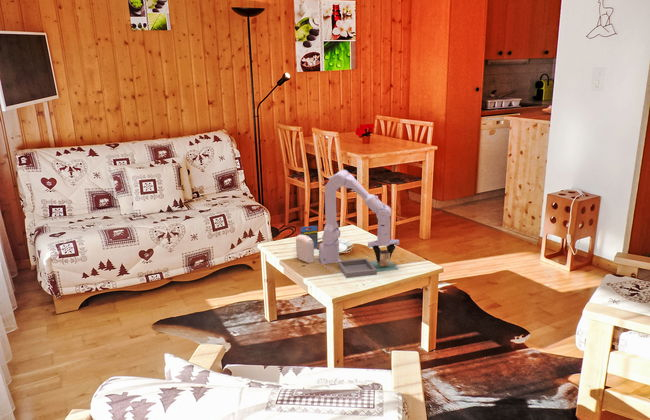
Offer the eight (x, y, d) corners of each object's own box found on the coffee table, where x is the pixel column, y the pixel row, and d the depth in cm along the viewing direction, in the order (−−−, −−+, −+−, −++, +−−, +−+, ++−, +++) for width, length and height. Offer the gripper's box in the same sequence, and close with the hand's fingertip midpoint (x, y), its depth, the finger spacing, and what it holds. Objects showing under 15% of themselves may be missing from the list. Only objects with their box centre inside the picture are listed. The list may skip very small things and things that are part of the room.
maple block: (380, 266, 234) (380, 254, 233) (376, 262, 238) (377, 250, 237) (389, 265, 235) (390, 253, 234) (386, 261, 240) (386, 249, 238)
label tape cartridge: (316, 245, 265) (315, 223, 261) (318, 248, 261) (317, 225, 258) (299, 247, 262) (298, 224, 259) (301, 250, 259) (300, 227, 255)
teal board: (375, 272, 231) (375, 271, 231) (367, 263, 241) (367, 262, 241) (398, 270, 234) (398, 269, 234) (389, 261, 244) (389, 260, 244)
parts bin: (346, 278, 225) (346, 273, 225) (338, 266, 238) (337, 261, 238) (376, 275, 229) (376, 269, 228) (366, 263, 242) (366, 258, 241)
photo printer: (295, 257, 249) (294, 233, 246) (302, 255, 252) (301, 232, 248) (308, 264, 241) (307, 239, 238) (315, 261, 244) (314, 237, 240)
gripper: (371, 236, 227) (371, 265, 231) (402, 233, 231) (401, 261, 235) (366, 231, 234) (366, 259, 238) (396, 228, 237) (395, 256, 241)
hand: (383, 260), depth 237 cm, fingers closed on maple block, 4 cm apart
